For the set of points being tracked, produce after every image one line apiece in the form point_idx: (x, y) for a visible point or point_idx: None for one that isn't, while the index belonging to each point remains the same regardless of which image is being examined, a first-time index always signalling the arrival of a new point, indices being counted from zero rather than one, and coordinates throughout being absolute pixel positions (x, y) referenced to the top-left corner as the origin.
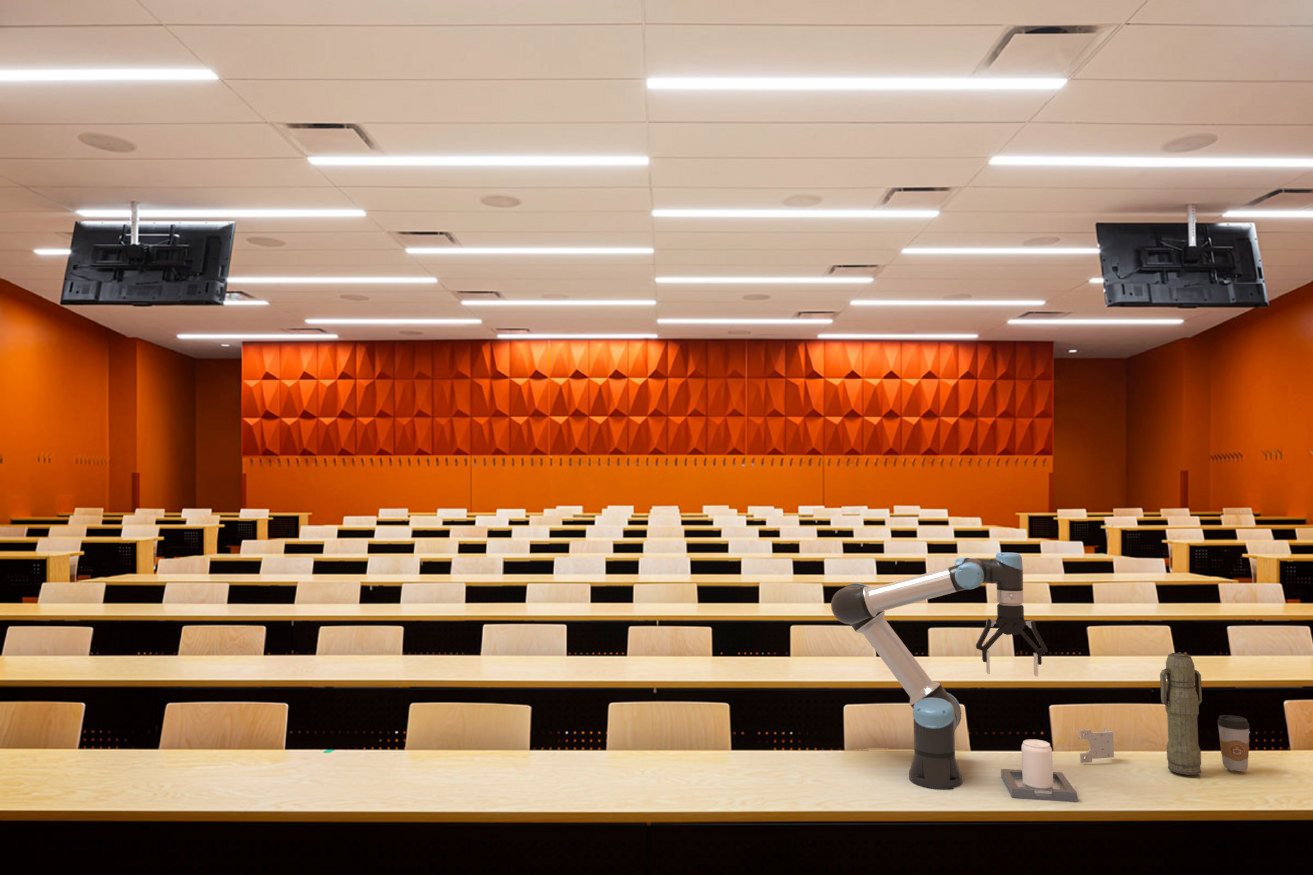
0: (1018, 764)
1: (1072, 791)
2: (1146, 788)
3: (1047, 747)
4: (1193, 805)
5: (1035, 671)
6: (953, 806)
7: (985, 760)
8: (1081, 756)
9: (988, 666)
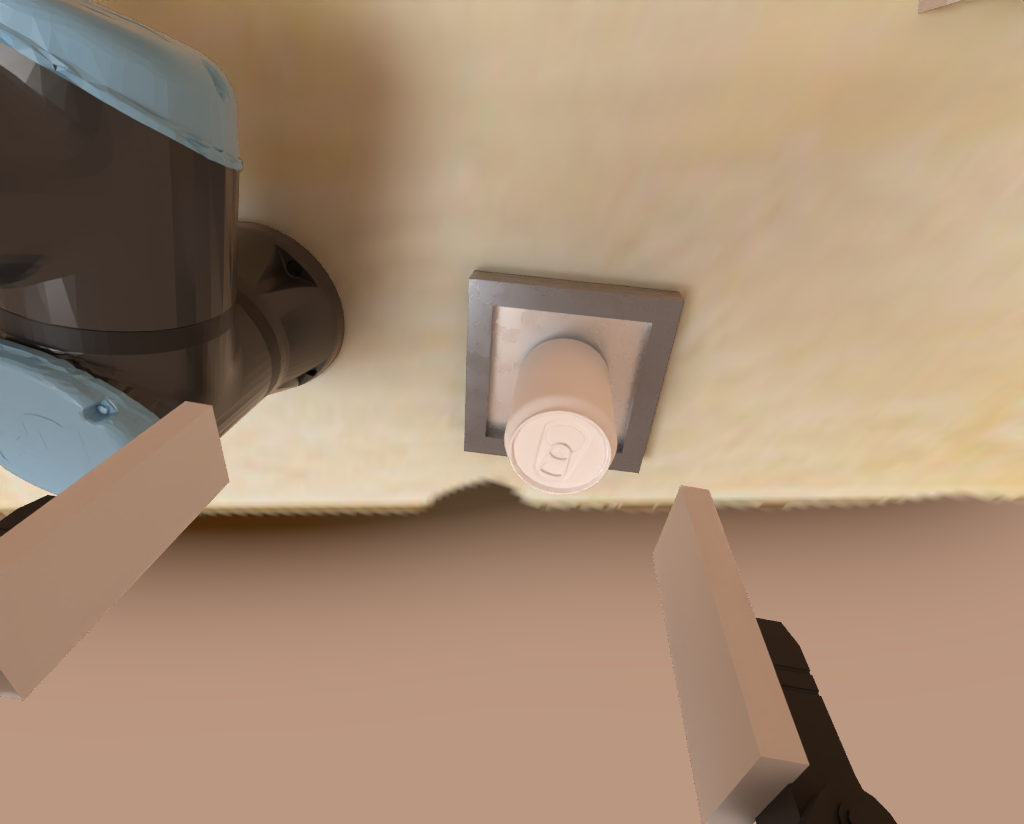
0: (584, 92)
1: (630, 464)
2: (941, 349)
3: (588, 484)
4: (964, 473)
5: (661, 593)
6: (321, 487)
7: (451, 41)
8: (938, 6)
9: (166, 530)
